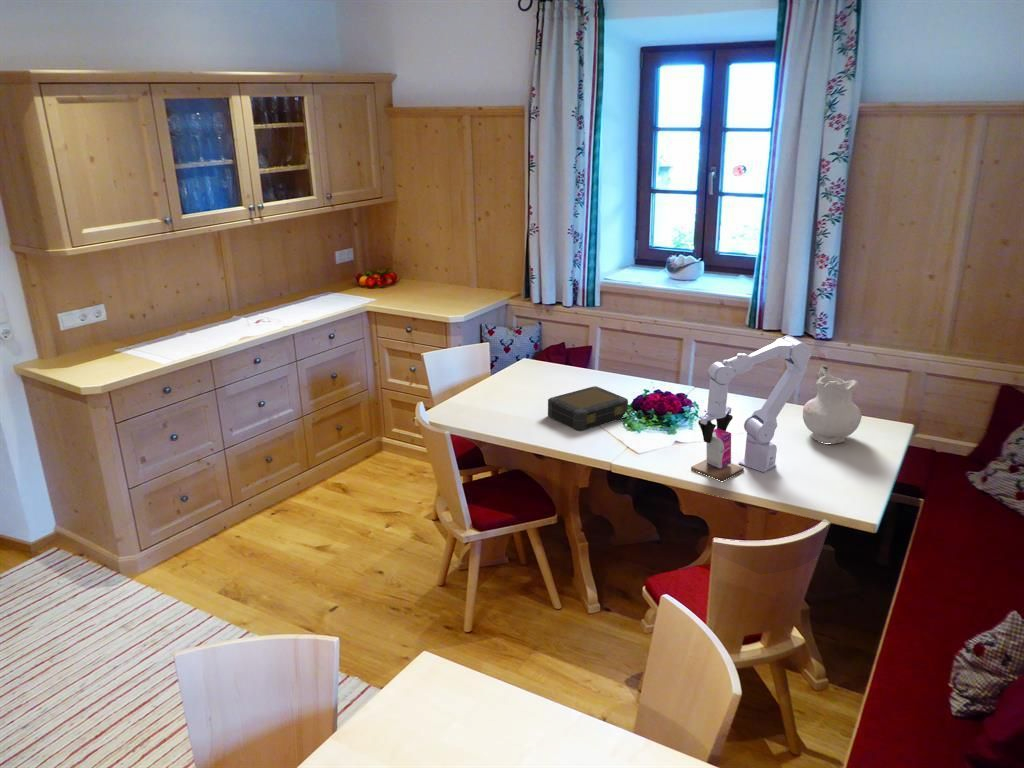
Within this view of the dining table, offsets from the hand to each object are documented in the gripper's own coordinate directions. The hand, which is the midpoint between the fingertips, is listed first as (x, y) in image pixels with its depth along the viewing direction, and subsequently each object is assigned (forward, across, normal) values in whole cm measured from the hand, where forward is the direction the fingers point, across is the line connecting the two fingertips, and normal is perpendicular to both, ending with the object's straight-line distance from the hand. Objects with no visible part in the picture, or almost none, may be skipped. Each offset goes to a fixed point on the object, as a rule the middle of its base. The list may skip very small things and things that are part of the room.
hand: (713, 438), depth 256 cm
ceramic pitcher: (+10, -52, +14) cm, 55 cm away
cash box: (+11, -4, -59) cm, 60 cm away
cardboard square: (+11, 0, +2) cm, 12 cm away
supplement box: (+9, -2, +2) cm, 9 cm away
